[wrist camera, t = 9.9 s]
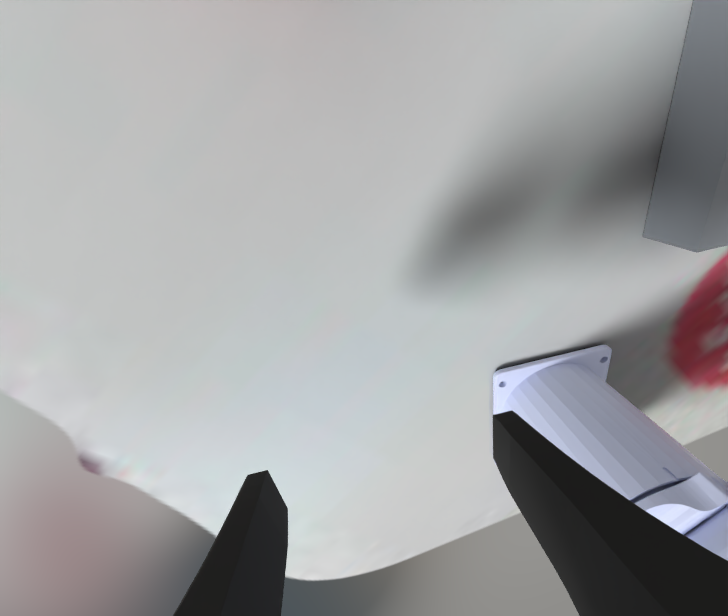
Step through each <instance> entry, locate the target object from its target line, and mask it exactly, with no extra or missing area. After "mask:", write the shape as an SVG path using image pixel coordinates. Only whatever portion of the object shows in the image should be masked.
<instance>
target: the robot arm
mask: <svg viewBox="0 0 728 616" xmlns="http://www.w3.org/2000/svg"><path fill="white" fill-rule="evenodd" d="M611 354H612V349H611V348H610V347H609V346H607V345H599V346H595V347H591V348H587V349H583V350H579V351H575V352H570V353H566V354H562V355H558V356H554V357H550V358H546V359H541V360H537V361H533V362H529V363H525V364H521V365H517V366H512V367H508V368H504V369H500V370H498V371H496V372H495V373H494V375H493V458H494V461H495V463H496V465H497V467H498V469H499V471H500V473H501V475H502V478H503V480H504V482H505V484H506V486H507V488H508V490H509V492H510V494H511V495H512V497H513V499H514V501H515V502H516V504H517V506H518V507H519V509H520V511H521V513H522V514H523V516H524V518H525V519H526V521H527V523H528V524H529V526H530V527H531V529H532V531H533V532H534V534H535V536H536V538H537V539H538V541H539V543H540V544H541V546H542V548H543V549H544V551H545V553H546V555H547V556H548V558H549V559H550V561H551V563H552V564H553V566H554V568H555V570H556V571H557V573H558V575H559V577H560V579H561V580H562V582H563V584H564V586H565V588H566V589H567V591H568V593H569V595H570V597H571V599H572V601H573V603H574V605H575V607H576V609H577V611H578V613H579V615H580V616H728V482H726V481H724V480H723V479H722V478H720V477H719V476H718V475H717V474H716V473H714V472H713V471H712V470H711V469H710V468H708V467H707V466H706V465H705V464H704V463H702V462H701V461H700V460H699V459H698V458H696V457H695V456H694V455H693V454H692V453H691V452H689V451H688V450H687V449H686V448H684V447H683V446H682V445H681V444H680V443H678V442H677V441H676V440H675V439H674V438H672V437H671V436H670V435H669V434H668V433H666V432H665V431H664V430H663V429H662V428H660V427H659V426H658V425H657V424H656V423H654V422H653V421H652V420H651V419H650V418H648V417H647V416H646V415H645V414H644V413H642V412H641V411H640V410H639V409H638V408H636V407H635V406H634V405H633V404H632V403H630V402H629V401H628V400H627V399H626V398H624V397H623V396H622V395H621V394H620V393H618V392H617V391H616V390H615V389H614V388H612V387H611V386H610V385H609V384H608V383H606V378H607V373H608V368H609V363H610V358H611ZM501 382H502V383H501ZM287 548H288V508H287V506H286V505H285V503H284V501H283V499H282V497H281V495H280V493H279V491H278V489H277V487H276V485H275V483H274V482H273V480H272V478H271V476H270V474H269V472H268V470H266V471H262V472H258V473H254V474H250V475H248V476H247V477H246V479H245V481H244V483H243V485H242V487H241V489H240V491H239V494H238V496H237V498H236V500H235V502H234V504H233V506H232V508H231V510H230V512H229V514H228V516H227V518H226V520H225V522H224V524H223V526H222V528H221V530H220V532H219V534H218V536H217V538H216V539H215V542H214V543H213V545H212V547H211V549H210V551H209V553H208V555H207V557H206V559H205V561H204V562H203V564H202V566H201V568H200V570H199V571H198V573H197V575H196V577H195V578H194V580H193V582H192V584H191V585H190V587H189V589H188V591H187V592H186V594H185V596H184V598H183V599H182V601H181V603H180V605H179V607H178V608H177V610H176V612H175V613H174V615H173V616H281V608H282V598H283V588H284V578H285V569H286V559H287Z"/></svg>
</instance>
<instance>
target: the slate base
mask: <svg viewBox="0 0 728 616" xmlns="http://www.w3.org/2000/svg"><path fill="white" fill-rule="evenodd" d="M643 237H645V238H649V239H652V240H656V241H659V242H662V243H666V244H669V245H673V246H676V247H680V248H683V249H687V250H690V251H693V252H701V251H705V250H709V249H714V248H718V247H722V246H726V245H728V0H693V5H692V10H691V14H690V19H689V24H688V28H687V33H686V37H685V42H684V47H683V51H682V56H681V61H680V65H679V70H678V75H677V79H676V84H675V88H674V93H673V98H672V102H671V107H670V112H669V116H668V121H667V126H666V130H665V135H664V140H663V144H662V149H661V153H660V158H659V163H658V167H657V172H656V177H655V181H654V186H653V191H652V195H651V200H650V204H649V209H648V214H647V218H646V223H645V228H644V232H643Z"/></svg>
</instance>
